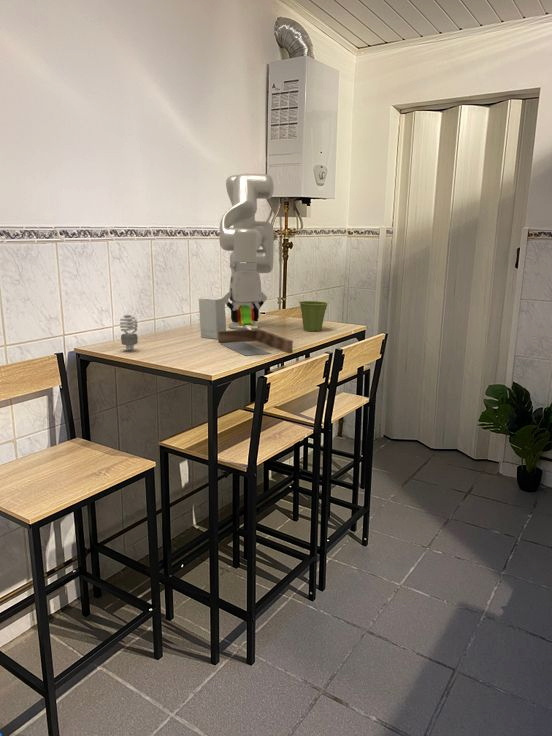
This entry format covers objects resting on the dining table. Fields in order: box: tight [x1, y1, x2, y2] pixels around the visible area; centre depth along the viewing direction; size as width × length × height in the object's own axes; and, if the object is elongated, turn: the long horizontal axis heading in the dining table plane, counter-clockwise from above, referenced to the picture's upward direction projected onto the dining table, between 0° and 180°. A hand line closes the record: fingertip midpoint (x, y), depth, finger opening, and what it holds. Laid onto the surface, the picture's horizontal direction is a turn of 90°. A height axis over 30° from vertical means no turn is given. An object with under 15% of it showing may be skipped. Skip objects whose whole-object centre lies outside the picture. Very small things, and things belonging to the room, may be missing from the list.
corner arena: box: [217, 328, 294, 354], centre depth 198 cm, size 26×16×4 cm, turn 28°
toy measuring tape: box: [236, 305, 259, 331], centre depth 190 cm, size 6×20×7 cm, turn 18°
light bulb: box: [119, 314, 139, 352], centre depth 188 cm, size 6×6×12 cm
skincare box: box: [198, 296, 227, 340], centre depth 214 cm, size 8×6×15 cm
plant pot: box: [298, 300, 329, 332], centre depth 233 cm, size 12×12×11 cm
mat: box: [220, 341, 272, 357], centre depth 196 cm, size 21×9×1 cm, turn 28°
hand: (244, 321), depth 193 cm, fingers closed on toy measuring tape, 6 cm apart
